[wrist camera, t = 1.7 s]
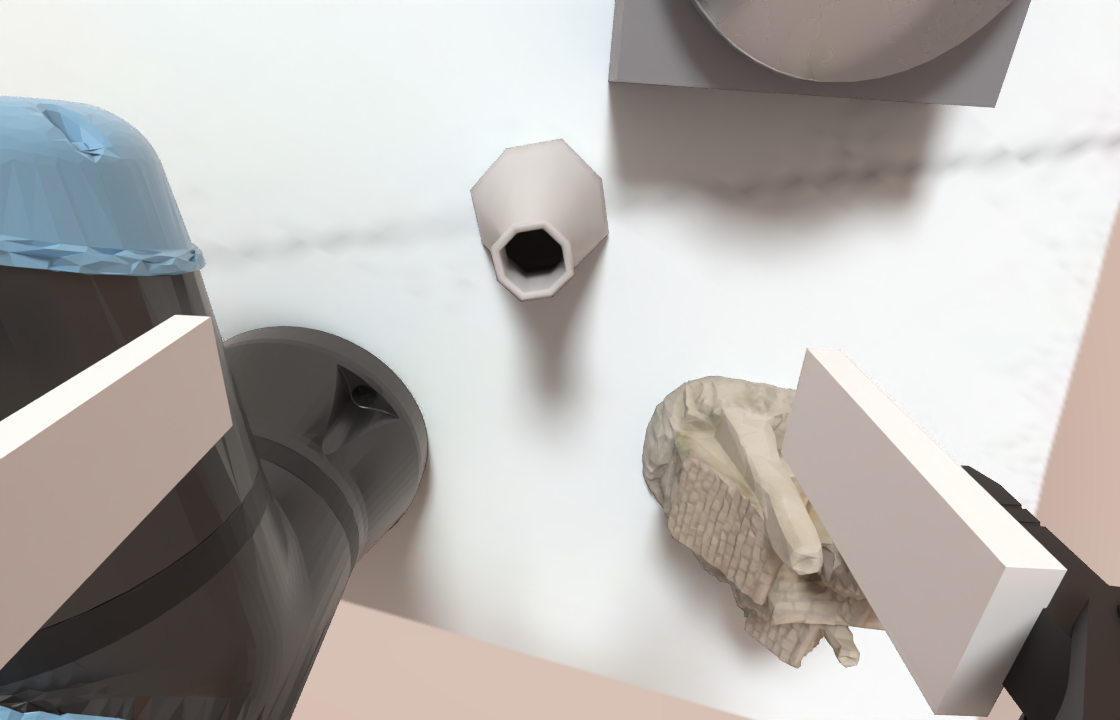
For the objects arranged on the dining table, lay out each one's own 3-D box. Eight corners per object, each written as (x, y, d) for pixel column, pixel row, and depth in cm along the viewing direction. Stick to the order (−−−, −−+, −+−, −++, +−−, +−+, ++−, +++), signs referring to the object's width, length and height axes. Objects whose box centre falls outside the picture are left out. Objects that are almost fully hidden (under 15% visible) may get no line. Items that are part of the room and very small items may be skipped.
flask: (569, 112, 30) (573, 126, 21) (630, 238, 33) (657, 299, 24) (447, 181, 32) (401, 223, 23) (515, 297, 34) (499, 375, 25)
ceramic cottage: (684, 347, 36) (762, 538, 22) (917, 422, 38) (1108, 629, 25) (589, 531, 43) (607, 757, 30) (792, 583, 45) (891, 809, 32)
